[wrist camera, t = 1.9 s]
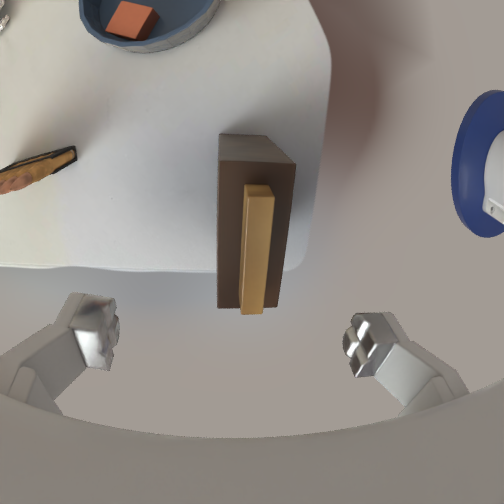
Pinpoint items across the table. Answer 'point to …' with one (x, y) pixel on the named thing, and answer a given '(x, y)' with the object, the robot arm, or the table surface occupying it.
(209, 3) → the bowl
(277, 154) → the brown thick block
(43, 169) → the ammunition clip
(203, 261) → the table surface
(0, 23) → the voxel character
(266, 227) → the tan wooden bar
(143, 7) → the block
